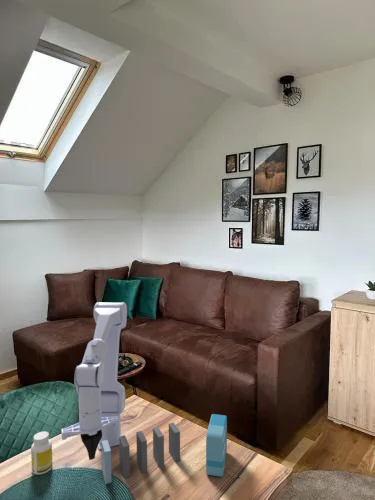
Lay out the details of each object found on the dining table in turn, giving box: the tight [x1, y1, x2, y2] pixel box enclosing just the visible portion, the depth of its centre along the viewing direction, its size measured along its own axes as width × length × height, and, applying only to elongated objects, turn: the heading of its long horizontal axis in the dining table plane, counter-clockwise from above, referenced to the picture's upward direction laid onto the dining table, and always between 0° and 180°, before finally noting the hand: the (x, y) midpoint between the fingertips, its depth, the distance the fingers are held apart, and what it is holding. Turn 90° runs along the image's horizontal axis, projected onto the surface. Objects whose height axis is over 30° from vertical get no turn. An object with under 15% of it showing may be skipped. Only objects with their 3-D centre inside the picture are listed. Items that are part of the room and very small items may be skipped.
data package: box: [205, 413, 228, 478], centre depth 98 cm, size 12×4×12 cm, turn 168°
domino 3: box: [152, 426, 165, 468], centre depth 100 cm, size 5×2×9 cm, turn 24°
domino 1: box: [118, 435, 131, 479], centre depth 95 cm, size 5×2×9 cm, turn 24°
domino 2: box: [135, 430, 148, 474], centre depth 97 cm, size 5×2×9 cm, turn 24°
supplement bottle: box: [30, 430, 53, 475], centre depth 97 cm, size 5×5×10 cm
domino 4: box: [168, 422, 181, 463], centre depth 102 cm, size 5×2×9 cm, turn 24°
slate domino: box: [101, 440, 113, 485], centre depth 93 cm, size 5×2×9 cm, turn 24°
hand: (91, 457), depth 92 cm, fingers closed
